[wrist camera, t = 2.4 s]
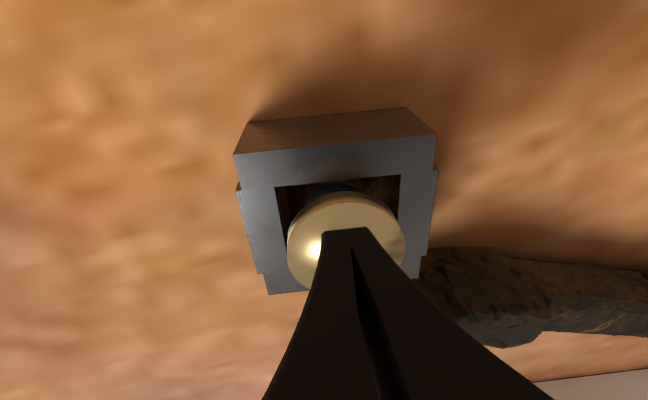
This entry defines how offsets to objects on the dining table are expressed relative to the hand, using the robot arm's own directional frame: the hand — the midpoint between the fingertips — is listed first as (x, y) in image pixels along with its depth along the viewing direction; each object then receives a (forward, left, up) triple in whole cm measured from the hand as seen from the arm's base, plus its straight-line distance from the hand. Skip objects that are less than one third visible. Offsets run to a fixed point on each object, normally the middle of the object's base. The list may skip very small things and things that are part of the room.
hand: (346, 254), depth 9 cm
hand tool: (-8, -12, -5) cm, 15 cm away
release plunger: (0, 0, -4) cm, 4 cm away
